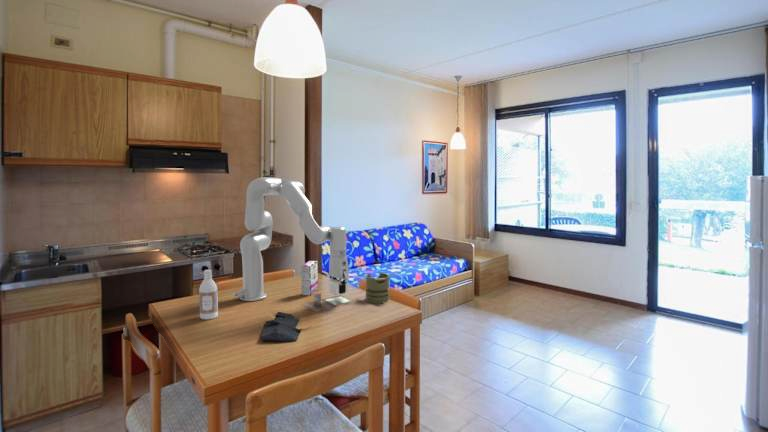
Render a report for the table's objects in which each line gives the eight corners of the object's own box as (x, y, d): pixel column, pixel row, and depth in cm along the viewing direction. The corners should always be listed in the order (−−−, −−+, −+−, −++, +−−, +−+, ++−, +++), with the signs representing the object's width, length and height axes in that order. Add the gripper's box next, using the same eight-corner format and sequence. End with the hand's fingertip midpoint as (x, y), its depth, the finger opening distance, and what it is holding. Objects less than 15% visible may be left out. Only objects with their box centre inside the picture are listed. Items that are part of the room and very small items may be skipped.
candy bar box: (309, 291, 202) (309, 260, 201) (318, 292, 201) (318, 260, 200) (301, 297, 191) (300, 265, 190) (310, 298, 190) (310, 265, 189)
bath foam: (198, 320, 159) (196, 272, 157) (202, 314, 166) (200, 268, 164) (216, 319, 161) (215, 271, 159) (219, 313, 168) (218, 268, 166)
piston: (363, 273, 193) (385, 272, 196) (363, 297, 194) (384, 295, 197) (369, 279, 182) (392, 277, 185) (369, 304, 183) (392, 302, 186)
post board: (315, 315, 167) (315, 300, 166) (300, 307, 177) (299, 293, 177) (357, 305, 181) (357, 291, 180) (340, 298, 192) (340, 285, 191)
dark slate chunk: (253, 344, 138) (253, 331, 137) (267, 322, 160) (267, 310, 159) (297, 343, 139) (297, 330, 139) (305, 321, 161) (304, 310, 160)
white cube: (347, 293, 181) (347, 280, 181) (336, 295, 178) (336, 282, 177) (340, 290, 186) (340, 277, 186) (329, 292, 182) (329, 279, 182)
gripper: (355, 255, 176) (355, 294, 178) (334, 250, 189) (335, 286, 191) (341, 257, 171) (342, 297, 173) (321, 251, 184) (321, 289, 186)
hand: (338, 291), depth 182 cm, fingers closed on white cube, 6 cm apart
